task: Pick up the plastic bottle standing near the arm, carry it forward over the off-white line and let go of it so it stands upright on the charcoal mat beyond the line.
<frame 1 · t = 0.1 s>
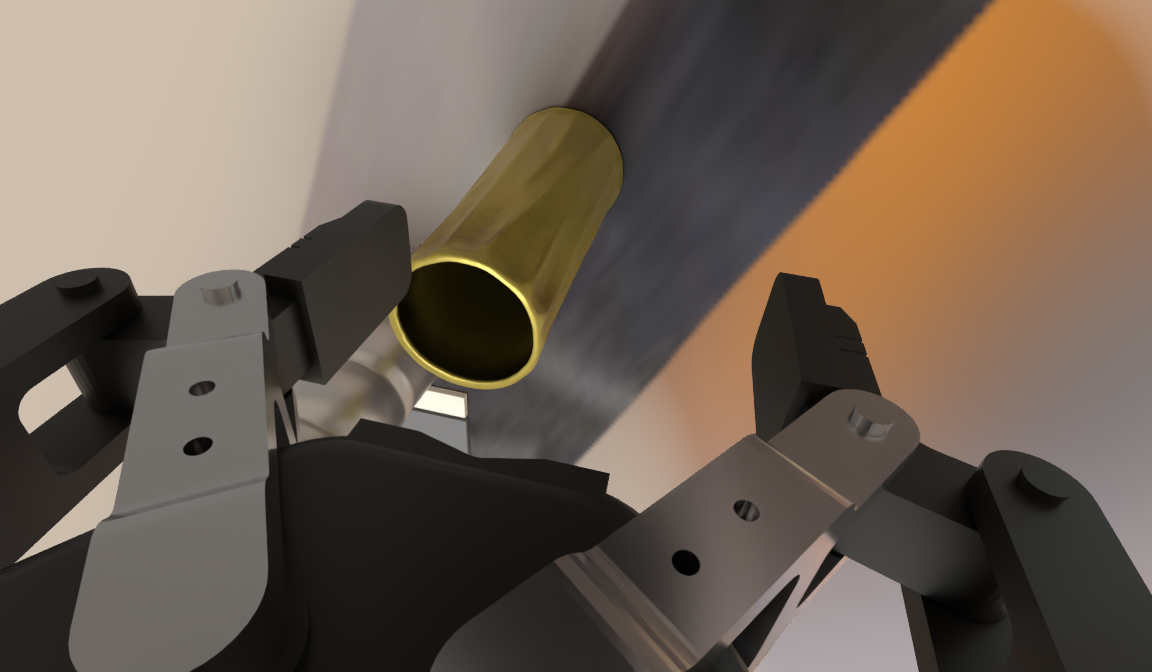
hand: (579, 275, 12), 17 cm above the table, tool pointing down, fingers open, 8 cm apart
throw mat: (414, 435, 45), on the table
vase: (565, 167, 29), on the table
plastic bottle: (433, 299, 36), on the table
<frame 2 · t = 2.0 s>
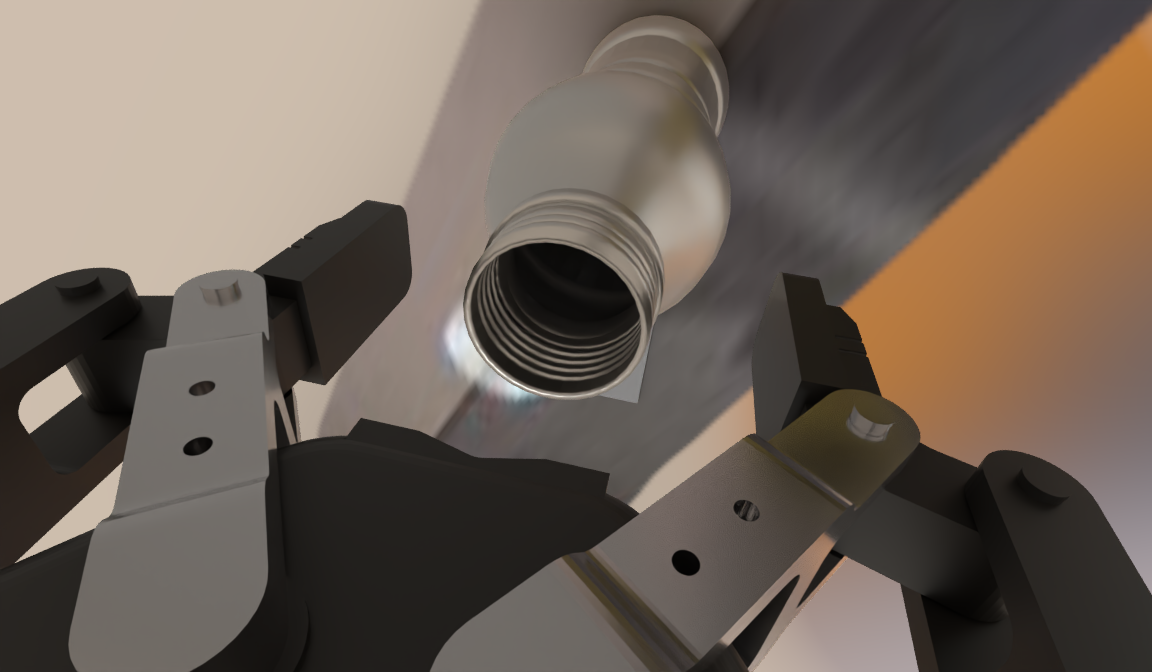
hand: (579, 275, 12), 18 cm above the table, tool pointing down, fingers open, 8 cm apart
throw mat: (579, 314, 35), on the table
plastic bottle: (657, 89, 27), on the table
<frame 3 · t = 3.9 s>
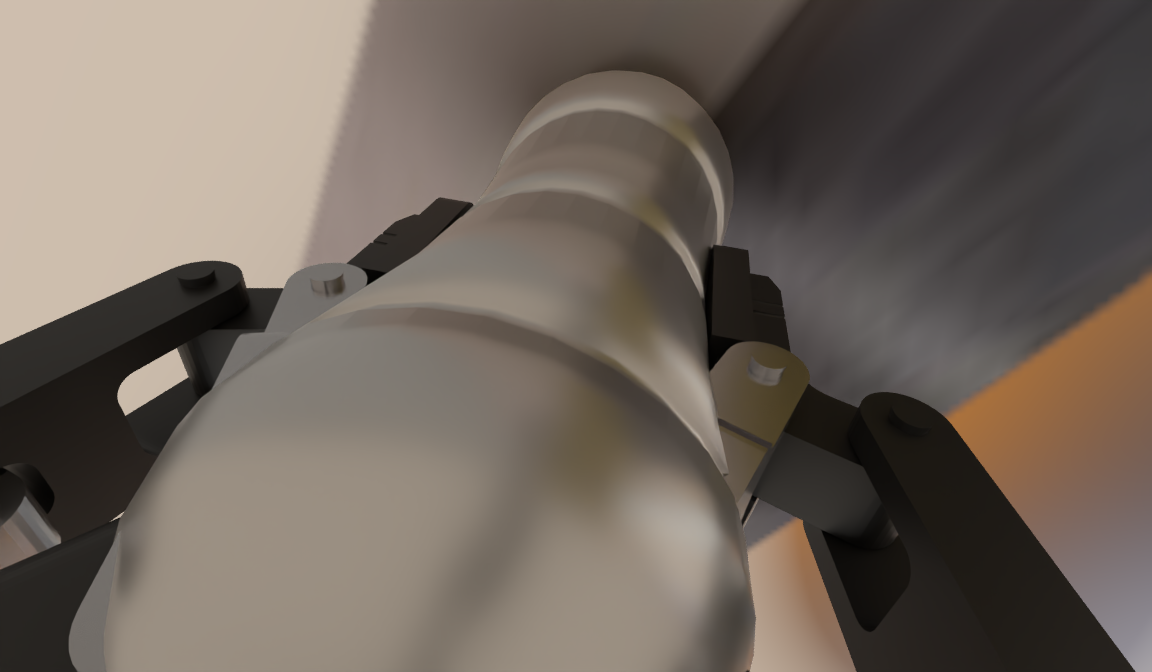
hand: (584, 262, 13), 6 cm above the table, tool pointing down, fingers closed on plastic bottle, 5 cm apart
plastic bottle: (626, 167, 18), on the table, touching gripper
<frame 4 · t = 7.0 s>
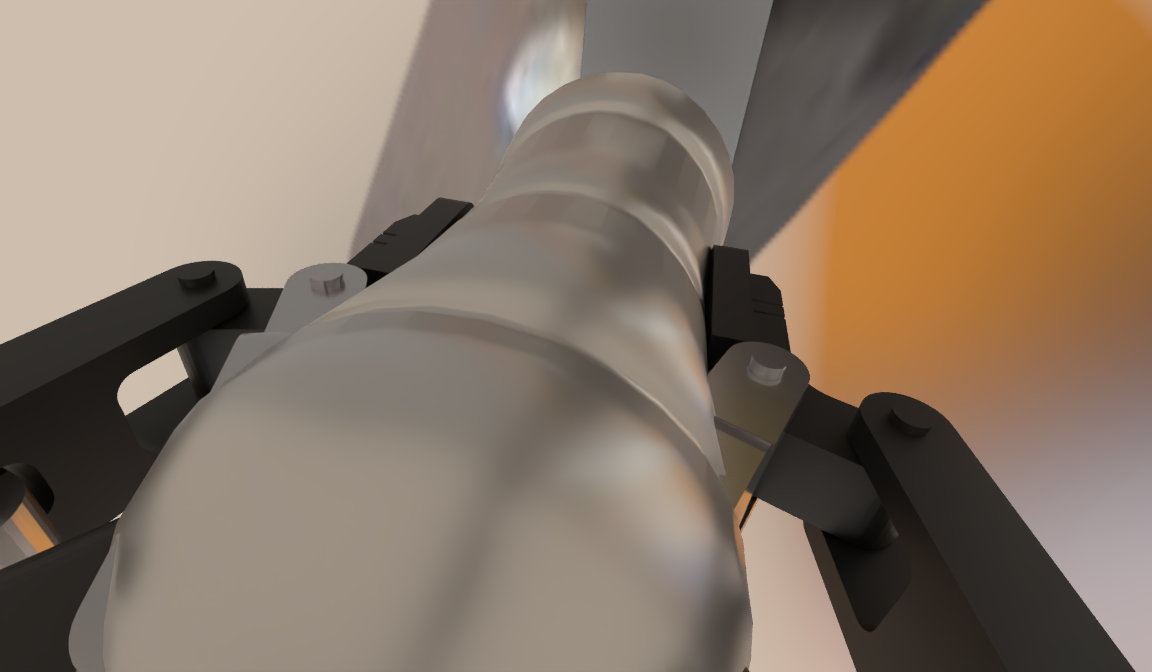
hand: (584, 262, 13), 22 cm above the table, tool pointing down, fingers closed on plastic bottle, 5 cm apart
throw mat: (671, 38, 29), on the table
plastic bottle: (627, 168, 18), point 15 cm above the table, touching gripper
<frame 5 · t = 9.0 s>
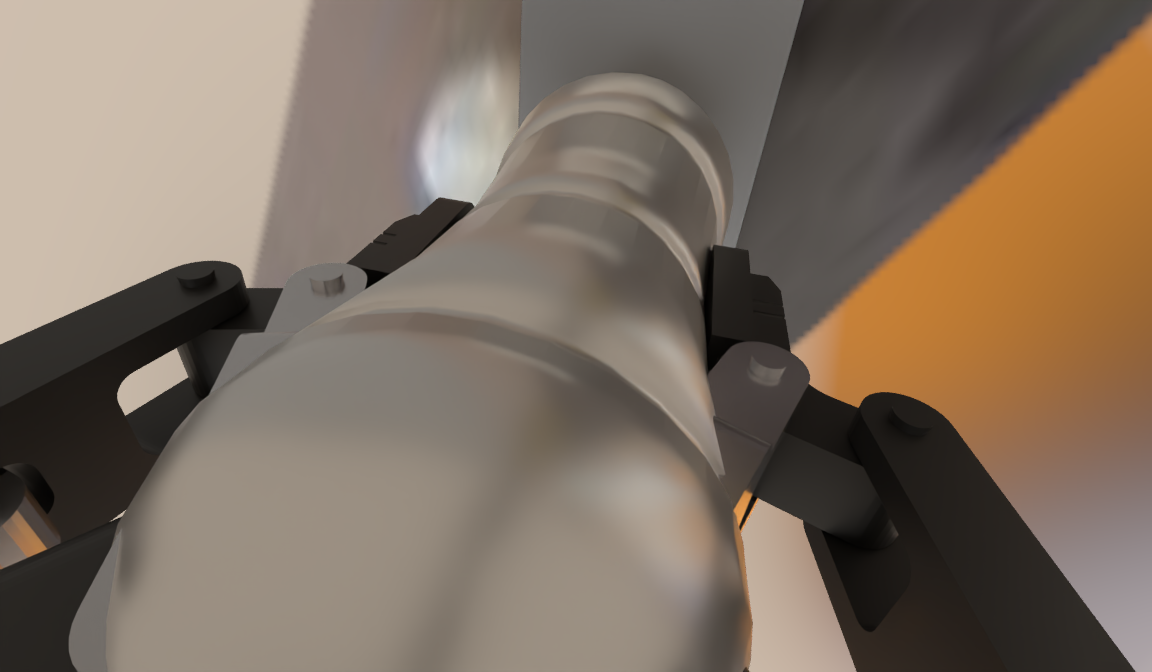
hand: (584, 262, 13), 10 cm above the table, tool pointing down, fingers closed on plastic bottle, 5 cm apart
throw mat: (645, 86, 20), on the table
plastic bottle: (626, 169, 18), point 4 cm above the table, touching gripper
when the fingers open (8 cm above the table, at t = 10.4 s): plastic bottle drops 1 cm, resting on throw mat.
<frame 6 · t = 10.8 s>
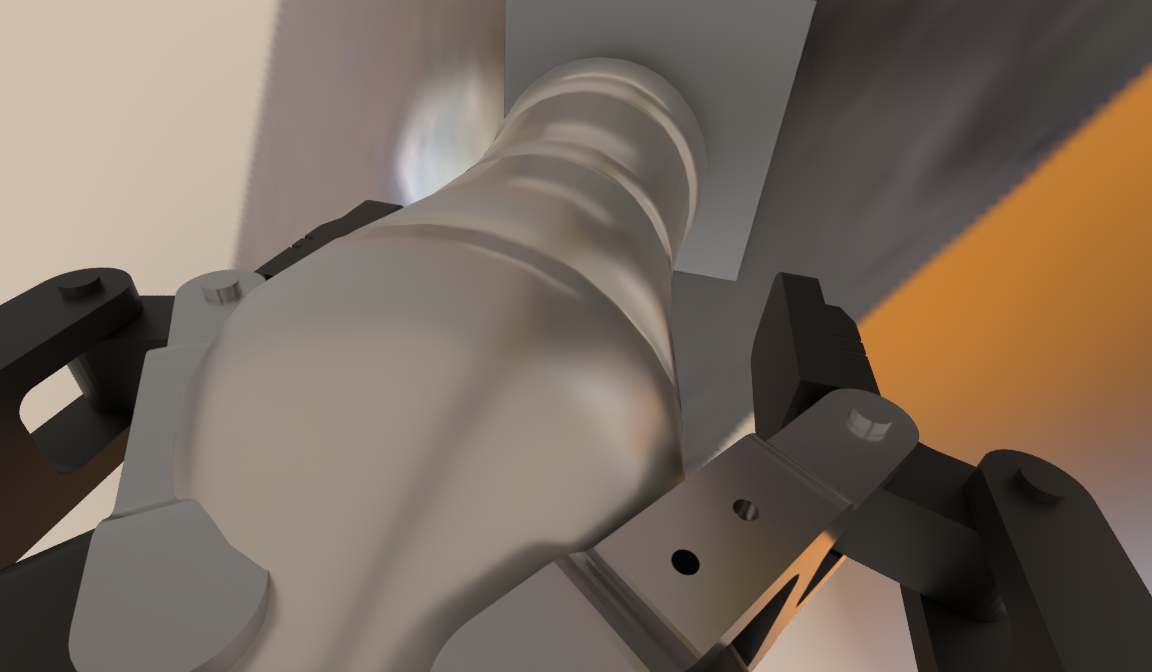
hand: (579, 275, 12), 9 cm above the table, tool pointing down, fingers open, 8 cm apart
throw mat: (640, 98, 19), on the table
plastic bottle: (612, 150, 19), resting on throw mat
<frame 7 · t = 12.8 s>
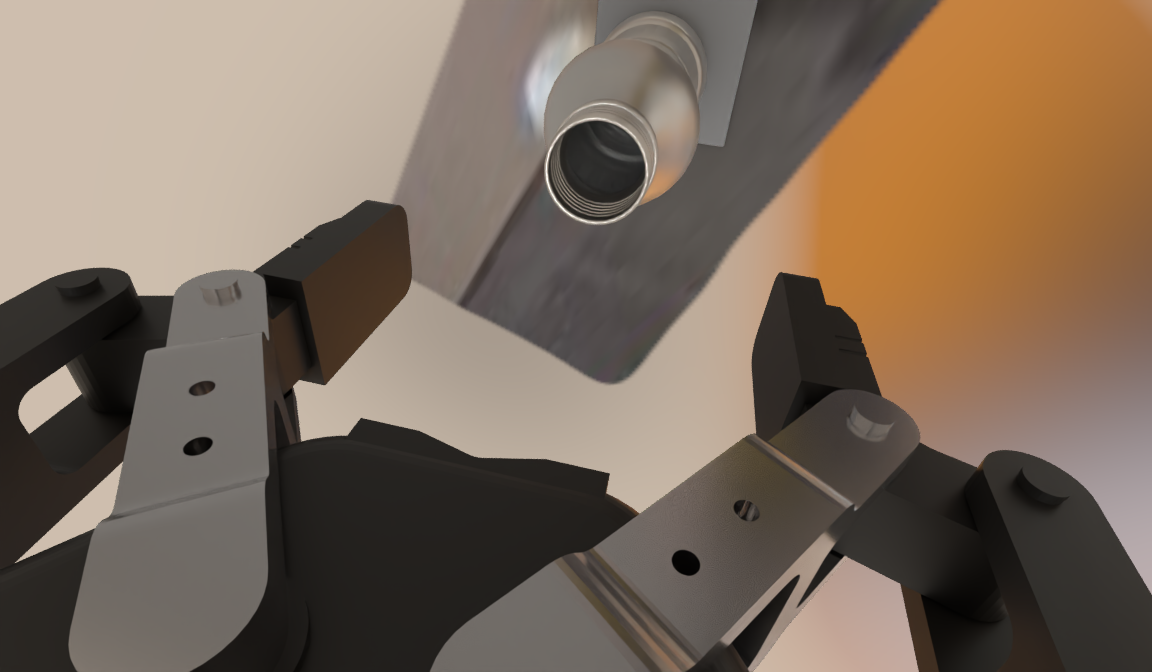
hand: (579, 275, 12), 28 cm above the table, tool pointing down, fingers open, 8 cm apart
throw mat: (670, 37, 34), on the table
plastic bottle: (654, 68, 35), resting on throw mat
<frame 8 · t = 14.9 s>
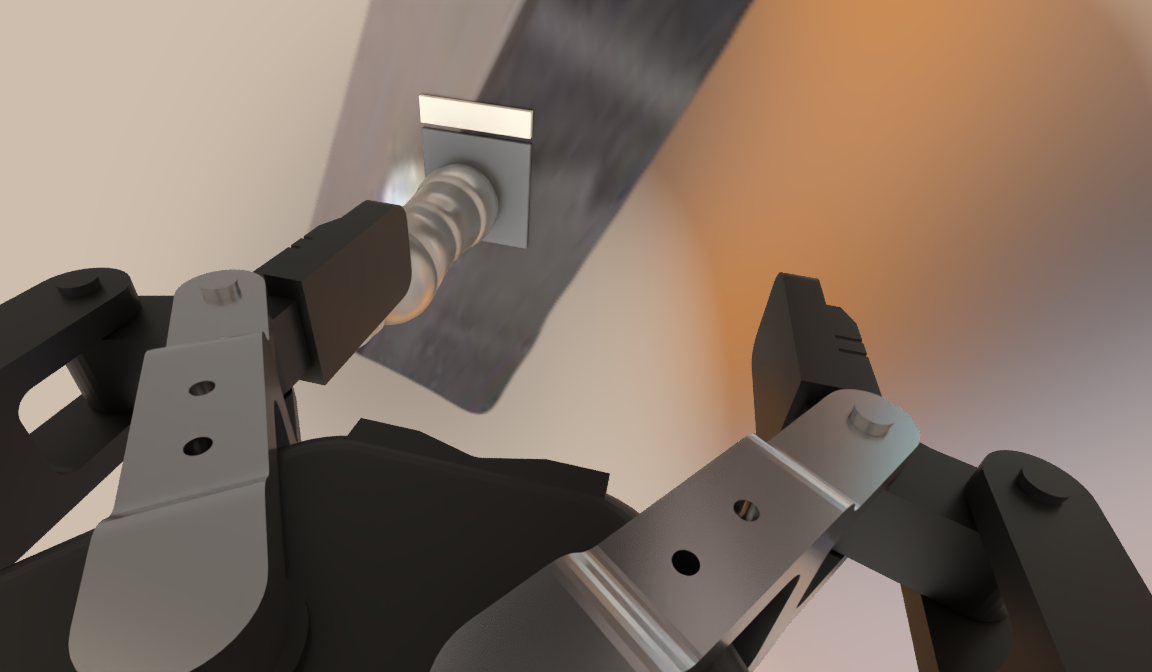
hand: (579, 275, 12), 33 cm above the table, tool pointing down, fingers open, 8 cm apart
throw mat: (477, 174, 47), on the table
plastic bottle: (469, 194, 48), resting on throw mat
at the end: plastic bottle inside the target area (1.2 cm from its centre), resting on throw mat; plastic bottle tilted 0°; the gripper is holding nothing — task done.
